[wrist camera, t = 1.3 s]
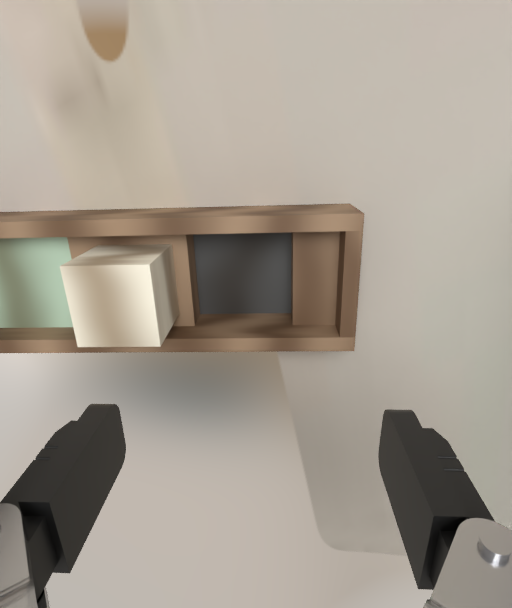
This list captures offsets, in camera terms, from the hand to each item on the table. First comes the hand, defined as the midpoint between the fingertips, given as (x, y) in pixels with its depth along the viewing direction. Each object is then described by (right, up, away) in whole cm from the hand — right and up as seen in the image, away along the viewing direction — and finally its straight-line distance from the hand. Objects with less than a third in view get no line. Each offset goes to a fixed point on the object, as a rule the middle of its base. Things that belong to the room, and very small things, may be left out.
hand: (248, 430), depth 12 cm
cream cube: (-8, +5, +15) cm, 18 cm away
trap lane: (-11, +6, +17) cm, 22 cm away
